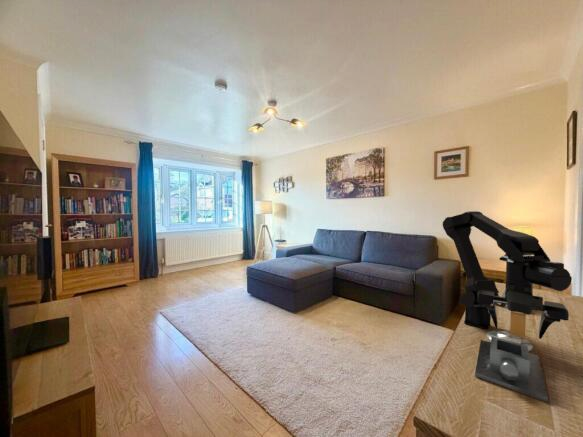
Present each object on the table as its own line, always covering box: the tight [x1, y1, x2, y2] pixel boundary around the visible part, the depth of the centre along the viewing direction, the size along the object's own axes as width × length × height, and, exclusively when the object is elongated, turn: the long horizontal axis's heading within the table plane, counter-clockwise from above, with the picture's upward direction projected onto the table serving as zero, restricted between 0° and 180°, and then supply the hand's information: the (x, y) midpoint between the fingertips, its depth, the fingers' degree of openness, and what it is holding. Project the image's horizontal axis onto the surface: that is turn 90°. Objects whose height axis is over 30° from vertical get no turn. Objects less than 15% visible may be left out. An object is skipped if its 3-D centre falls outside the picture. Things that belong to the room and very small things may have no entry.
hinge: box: [496, 290, 507, 309], centre depth 103 cm, size 17×5×10 cm, turn 127°
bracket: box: [474, 330, 549, 403], centre depth 62 cm, size 12×20×6 cm, turn 139°
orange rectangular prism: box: [509, 311, 527, 339], centre depth 71 cm, size 3×4×10 cm
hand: (517, 332), depth 71 cm, fingers open, 9 cm apart
